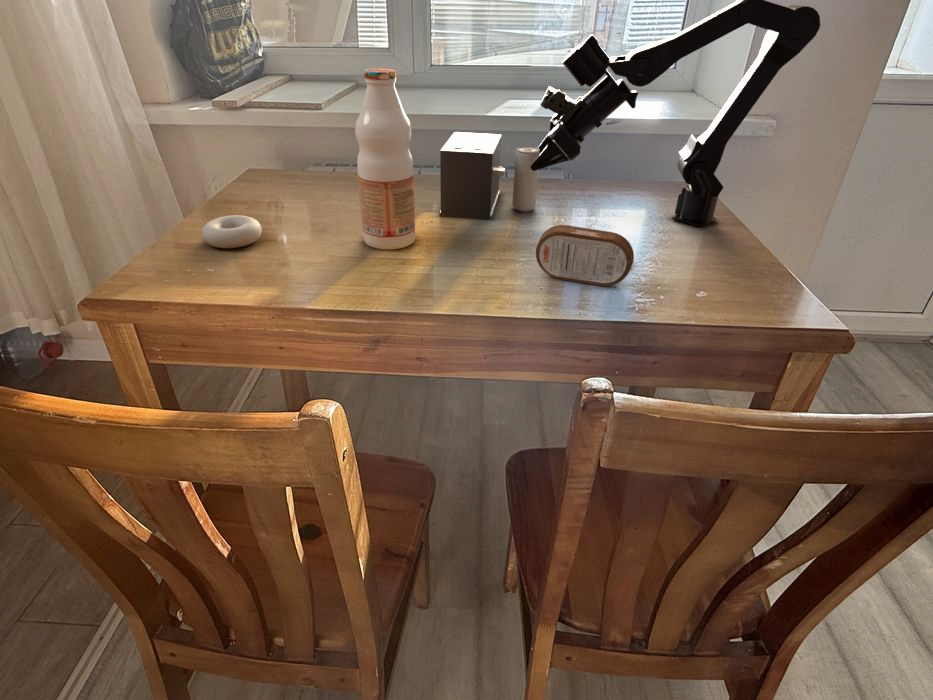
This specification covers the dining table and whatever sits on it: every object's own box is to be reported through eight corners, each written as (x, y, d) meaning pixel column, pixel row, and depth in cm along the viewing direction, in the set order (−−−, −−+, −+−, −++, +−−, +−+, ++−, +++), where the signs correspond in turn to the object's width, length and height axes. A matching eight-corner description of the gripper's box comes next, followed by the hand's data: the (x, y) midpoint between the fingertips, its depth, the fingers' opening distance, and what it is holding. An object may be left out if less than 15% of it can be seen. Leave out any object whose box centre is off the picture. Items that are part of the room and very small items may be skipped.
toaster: (508, 194, 128) (511, 134, 121) (500, 220, 115) (504, 153, 108) (453, 191, 130) (453, 130, 123) (439, 216, 116) (439, 149, 109)
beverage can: (532, 213, 118) (537, 153, 112) (509, 210, 120) (512, 150, 113) (537, 206, 122) (542, 147, 116) (515, 203, 124) (519, 145, 117)
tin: (629, 283, 92) (638, 233, 87) (627, 292, 89) (636, 240, 85) (536, 269, 96) (540, 220, 91) (531, 276, 93) (536, 226, 89)
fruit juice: (360, 250, 101) (345, 73, 86) (366, 230, 109) (353, 65, 93) (414, 250, 101) (408, 74, 86) (416, 231, 109) (411, 66, 94)
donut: (235, 256, 98) (275, 235, 106) (231, 237, 96) (271, 217, 104) (191, 245, 101) (233, 226, 109) (186, 227, 100) (229, 208, 107)
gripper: (569, 65, 114) (510, 122, 121) (568, 78, 98) (501, 142, 106) (604, 109, 117) (544, 162, 124) (609, 129, 102) (540, 188, 109)
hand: (533, 162), depth 116 cm, fingers open, 9 cm apart
